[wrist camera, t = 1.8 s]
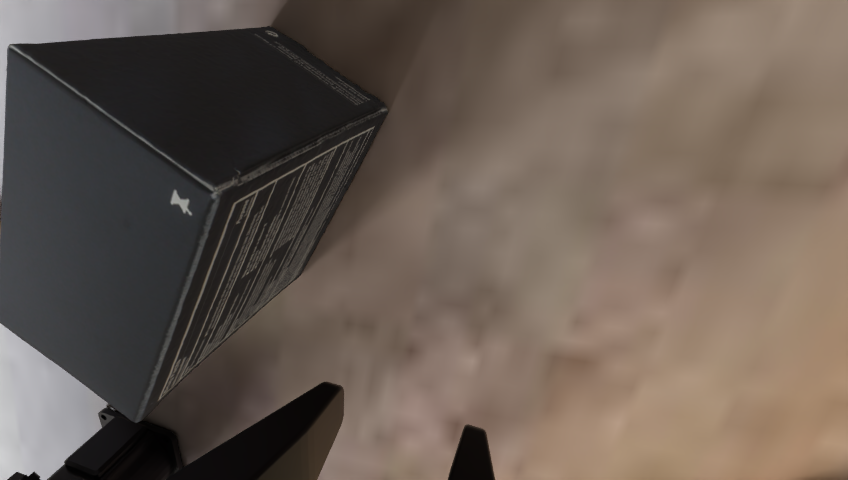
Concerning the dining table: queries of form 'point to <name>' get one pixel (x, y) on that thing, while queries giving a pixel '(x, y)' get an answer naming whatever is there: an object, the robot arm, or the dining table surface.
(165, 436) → the robot arm
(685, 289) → the dining table surface
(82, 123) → the small box
